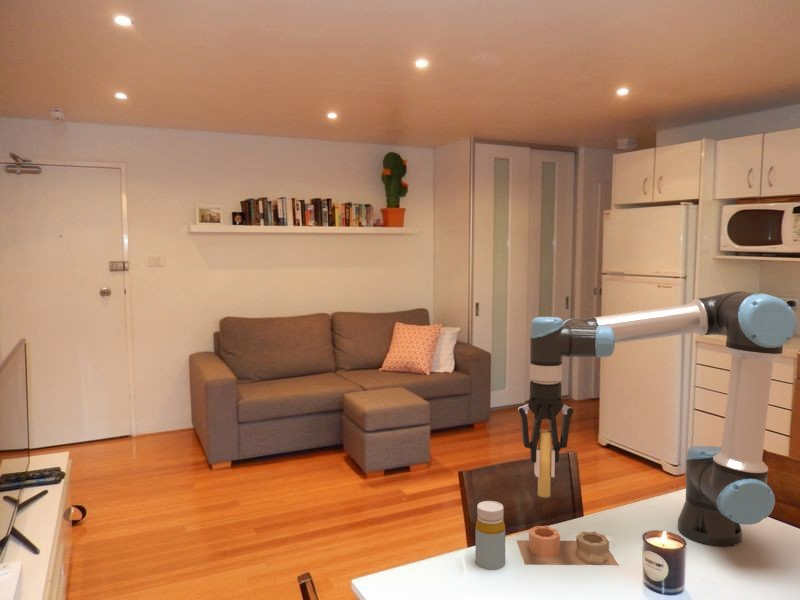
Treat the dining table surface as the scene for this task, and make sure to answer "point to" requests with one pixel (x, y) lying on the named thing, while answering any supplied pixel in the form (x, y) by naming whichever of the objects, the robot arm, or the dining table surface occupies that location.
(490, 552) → the bottle
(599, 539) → the bead beech
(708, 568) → the dining table surface
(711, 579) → the dining table surface
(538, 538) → the bead rust
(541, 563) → the lacing board
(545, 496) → the dowel
